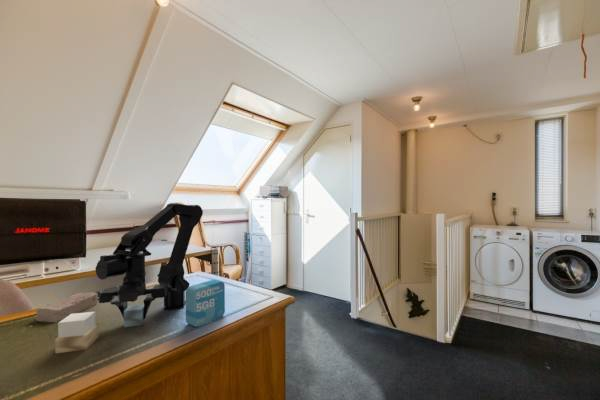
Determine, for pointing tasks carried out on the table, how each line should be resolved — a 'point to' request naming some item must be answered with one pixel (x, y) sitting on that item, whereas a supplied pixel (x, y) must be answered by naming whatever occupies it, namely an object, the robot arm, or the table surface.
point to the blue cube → (134, 315)
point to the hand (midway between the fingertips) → (135, 319)
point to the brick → (66, 307)
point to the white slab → (76, 324)
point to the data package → (205, 302)
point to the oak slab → (76, 341)
